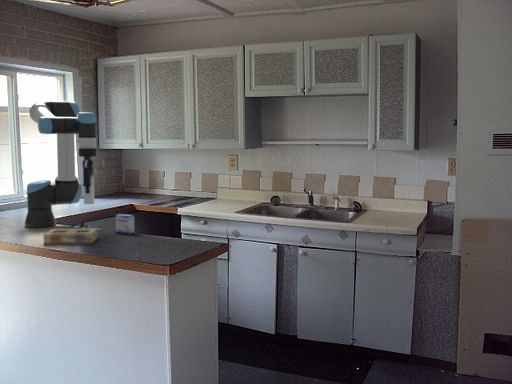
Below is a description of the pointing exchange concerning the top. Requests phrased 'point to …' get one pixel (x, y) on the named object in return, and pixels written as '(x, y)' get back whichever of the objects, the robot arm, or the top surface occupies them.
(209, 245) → the top surface
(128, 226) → the medicine box
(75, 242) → the socket block
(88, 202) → the plug
